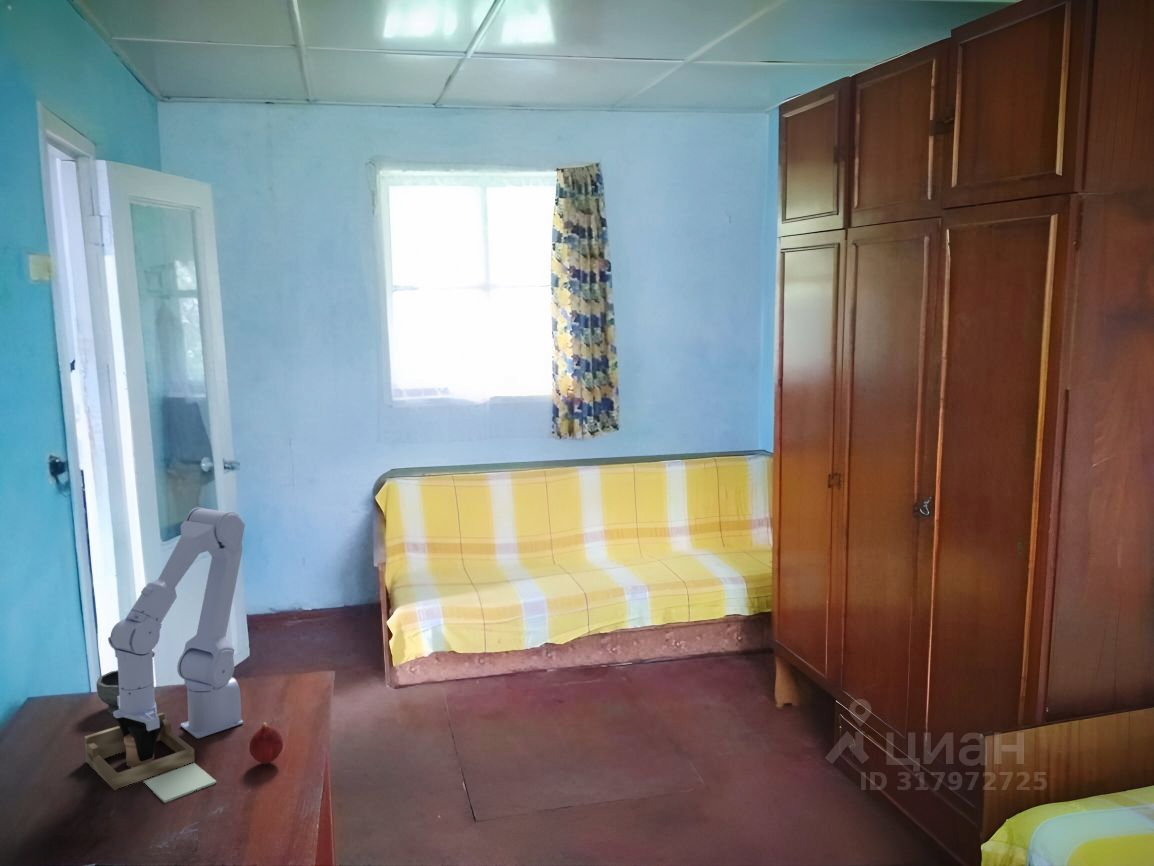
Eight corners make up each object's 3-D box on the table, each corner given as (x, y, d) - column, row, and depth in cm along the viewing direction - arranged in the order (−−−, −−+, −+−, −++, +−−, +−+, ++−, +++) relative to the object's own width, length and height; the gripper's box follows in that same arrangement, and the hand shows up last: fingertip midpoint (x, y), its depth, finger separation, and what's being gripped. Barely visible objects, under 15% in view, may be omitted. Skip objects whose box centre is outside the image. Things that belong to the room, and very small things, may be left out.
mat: (194, 764, 162) (194, 762, 162) (216, 783, 156) (216, 780, 156) (143, 783, 155) (143, 781, 155) (164, 802, 149) (164, 800, 149)
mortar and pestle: (102, 723, 177) (99, 666, 176) (94, 706, 185) (91, 651, 183) (162, 708, 184) (159, 654, 183) (152, 693, 192) (149, 640, 190)
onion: (290, 760, 164) (289, 720, 163) (267, 774, 159) (266, 733, 158) (266, 753, 166) (265, 713, 165) (243, 767, 161) (241, 726, 160)
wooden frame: (163, 736, 172) (162, 712, 172) (194, 761, 163) (193, 736, 162) (85, 762, 162) (84, 736, 161) (114, 790, 153) (112, 763, 152)
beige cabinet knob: (149, 752, 166) (147, 727, 165) (160, 762, 163) (159, 736, 162) (120, 762, 162) (119, 736, 162) (131, 772, 159) (130, 746, 158)
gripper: (98, 678, 162) (102, 747, 164) (128, 702, 153) (132, 776, 154) (138, 667, 168) (141, 735, 169) (170, 690, 158) (173, 761, 160)
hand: (140, 753), depth 162 cm, fingers closed on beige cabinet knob, 5 cm apart
